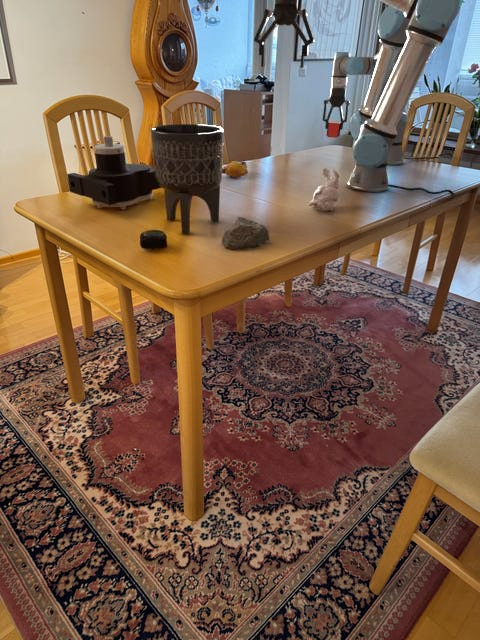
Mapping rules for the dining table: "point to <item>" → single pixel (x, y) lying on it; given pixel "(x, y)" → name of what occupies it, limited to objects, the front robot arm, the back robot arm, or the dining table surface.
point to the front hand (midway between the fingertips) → (282, 67)
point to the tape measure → (153, 239)
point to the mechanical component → (114, 178)
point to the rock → (245, 234)
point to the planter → (188, 167)
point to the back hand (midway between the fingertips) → (333, 135)
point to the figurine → (326, 192)
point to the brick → (333, 129)
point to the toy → (235, 169)
